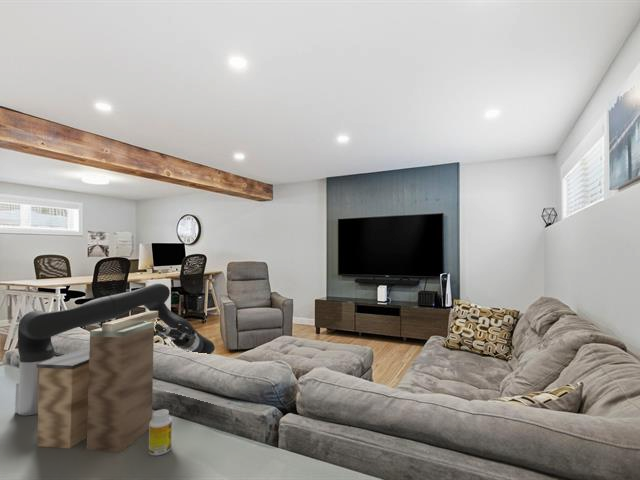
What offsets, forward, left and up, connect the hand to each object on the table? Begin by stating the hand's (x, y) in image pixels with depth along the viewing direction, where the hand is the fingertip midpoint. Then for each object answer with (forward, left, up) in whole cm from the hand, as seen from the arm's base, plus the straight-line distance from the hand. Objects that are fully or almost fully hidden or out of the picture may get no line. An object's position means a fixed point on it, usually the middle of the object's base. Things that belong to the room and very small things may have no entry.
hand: (167, 326), depth 126 cm
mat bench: (-15, -23, -27) cm, 38 cm away
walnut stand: (0, -24, -27) cm, 36 cm away
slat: (0, -20, +5) cm, 20 cm away
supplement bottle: (+15, -29, -27) cm, 42 cm away
